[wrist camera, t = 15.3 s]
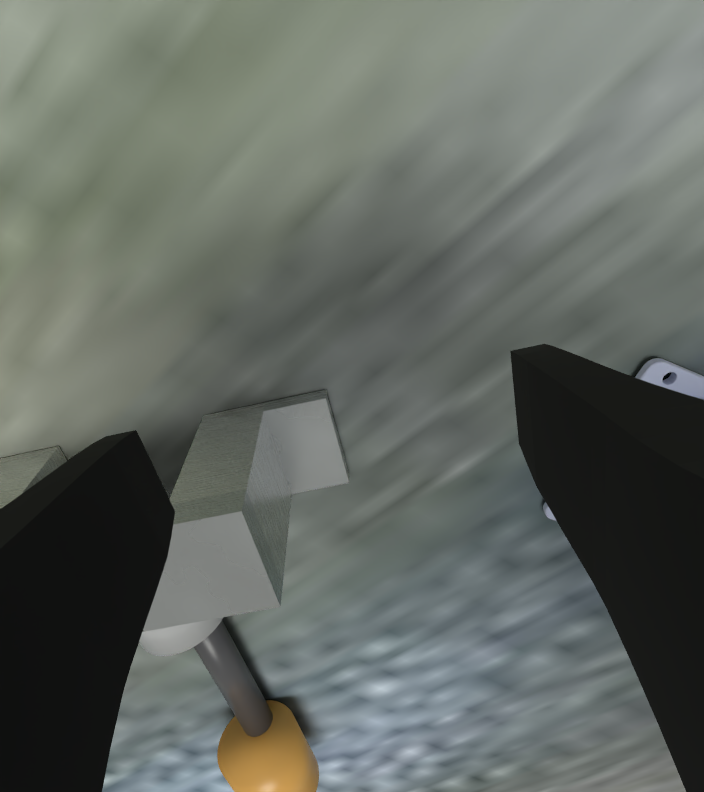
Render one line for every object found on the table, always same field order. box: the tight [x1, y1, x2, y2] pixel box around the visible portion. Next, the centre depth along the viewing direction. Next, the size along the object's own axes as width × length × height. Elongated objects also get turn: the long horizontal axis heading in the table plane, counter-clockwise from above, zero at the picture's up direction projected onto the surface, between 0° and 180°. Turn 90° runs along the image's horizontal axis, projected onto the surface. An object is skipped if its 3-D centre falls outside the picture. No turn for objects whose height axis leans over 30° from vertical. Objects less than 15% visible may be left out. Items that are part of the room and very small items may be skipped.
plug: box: [139, 617, 319, 792], centre depth 26 cm, size 16×4×4 cm, turn 15°
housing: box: [0, 390, 349, 632], centre depth 20 cm, size 4×16×6 cm, turn 103°
